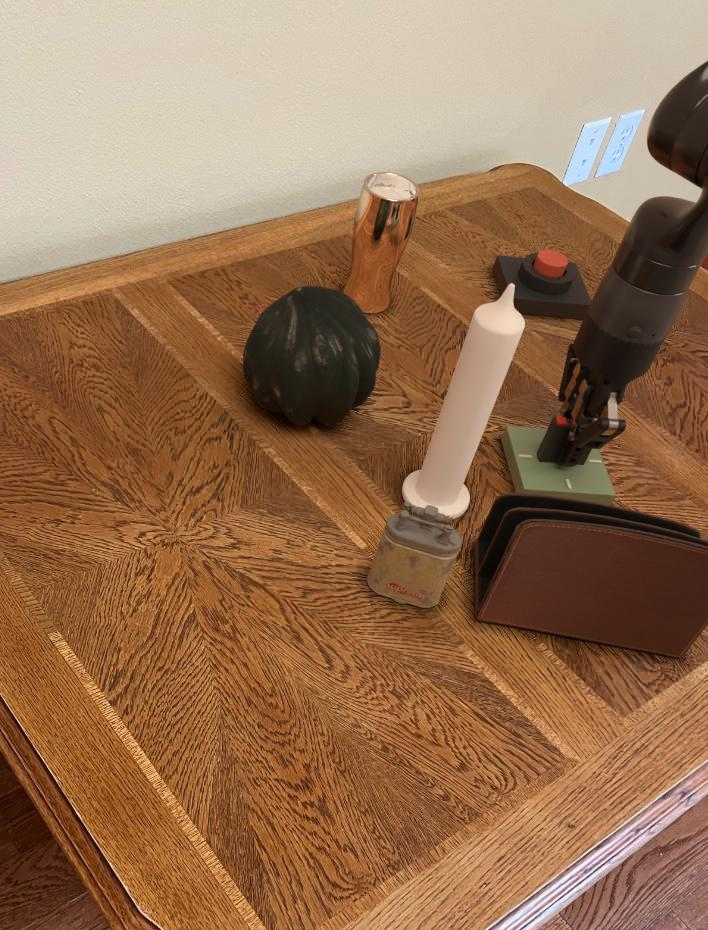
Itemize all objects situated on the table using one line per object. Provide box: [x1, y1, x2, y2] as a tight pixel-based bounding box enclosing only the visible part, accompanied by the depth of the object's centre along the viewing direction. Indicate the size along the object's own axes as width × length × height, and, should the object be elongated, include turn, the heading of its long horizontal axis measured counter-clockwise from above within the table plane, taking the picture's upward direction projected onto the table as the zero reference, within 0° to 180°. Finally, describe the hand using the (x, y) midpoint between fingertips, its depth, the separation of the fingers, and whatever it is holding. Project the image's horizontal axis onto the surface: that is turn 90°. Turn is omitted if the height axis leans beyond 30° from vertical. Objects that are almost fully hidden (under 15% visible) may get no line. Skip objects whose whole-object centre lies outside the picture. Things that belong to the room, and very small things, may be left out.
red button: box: [533, 249, 569, 278], centre depth 122 cm, size 4×4×2 cm
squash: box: [242, 285, 382, 426], centre depth 101 cm, size 14×15×15 cm
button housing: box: [491, 252, 592, 320], centre depth 124 cm, size 11×10×4 cm
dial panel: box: [500, 425, 617, 506], centre depth 102 cm, size 10×10×2 cm
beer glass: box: [342, 171, 421, 314], centre depth 114 cm, size 7×7×15 cm
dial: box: [537, 415, 592, 465], centre depth 99 cm, size 5×1×5 cm, turn 91°
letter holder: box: [474, 492, 708, 660], centre depth 85 cm, size 10×20×14 cm, turn 82°
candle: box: [401, 283, 526, 520], centre depth 88 cm, size 7×7×25 cm
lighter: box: [366, 501, 463, 609], centre depth 85 cm, size 7×4×10 cm, turn 73°
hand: (562, 454), depth 100 cm, fingers closed
